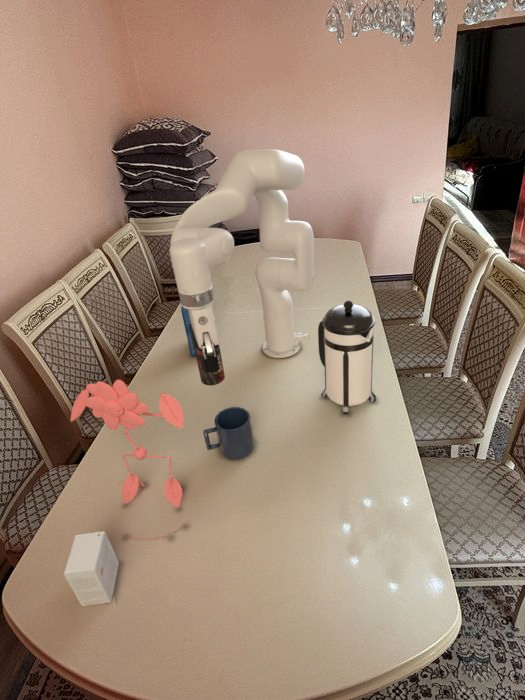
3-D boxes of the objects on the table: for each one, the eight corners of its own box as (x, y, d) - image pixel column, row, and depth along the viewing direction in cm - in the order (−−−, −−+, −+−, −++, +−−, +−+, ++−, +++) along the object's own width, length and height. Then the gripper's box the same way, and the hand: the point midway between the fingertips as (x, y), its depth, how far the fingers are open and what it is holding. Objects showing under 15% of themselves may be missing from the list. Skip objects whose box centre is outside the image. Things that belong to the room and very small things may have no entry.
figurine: (113, 479, 108) (66, 357, 90) (215, 490, 102) (186, 362, 84) (78, 534, 96) (14, 405, 78) (191, 551, 90) (151, 415, 71)
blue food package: (190, 356, 152) (175, 289, 139) (195, 338, 163) (181, 274, 150) (209, 355, 152) (196, 287, 139) (212, 337, 162) (200, 272, 149)
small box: (91, 567, 89) (74, 533, 83) (120, 563, 89) (105, 529, 84) (81, 608, 82) (61, 574, 77) (111, 603, 82) (94, 570, 77)
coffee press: (379, 383, 130) (383, 287, 114) (371, 419, 117) (375, 317, 101) (320, 376, 135) (316, 284, 120) (307, 410, 123) (301, 312, 107)
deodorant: (220, 386, 108) (210, 332, 100) (197, 384, 109) (185, 331, 101) (227, 371, 113) (218, 319, 105) (205, 370, 114) (194, 318, 106)
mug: (249, 432, 118) (245, 403, 113) (258, 454, 111) (254, 424, 106) (205, 444, 116) (198, 415, 111) (211, 467, 108) (205, 438, 103)
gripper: (220, 308, 93) (232, 379, 102) (207, 278, 107) (219, 342, 116) (184, 316, 91) (200, 387, 101) (175, 284, 106) (190, 349, 115)
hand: (210, 362), depth 109 cm, fingers closed on deodorant, 5 cm apart
